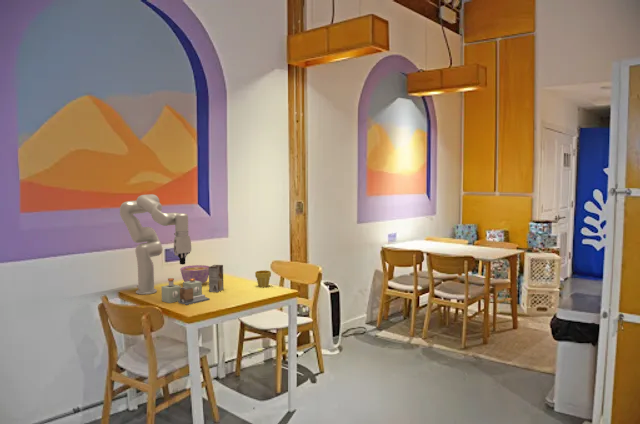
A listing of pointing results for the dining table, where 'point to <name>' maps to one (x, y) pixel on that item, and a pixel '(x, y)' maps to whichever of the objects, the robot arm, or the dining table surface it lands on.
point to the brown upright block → (186, 294)
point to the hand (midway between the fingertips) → (182, 264)
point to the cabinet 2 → (194, 287)
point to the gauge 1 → (171, 282)
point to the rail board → (195, 300)
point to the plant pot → (263, 278)
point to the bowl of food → (195, 273)
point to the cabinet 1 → (170, 293)
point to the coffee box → (216, 278)
